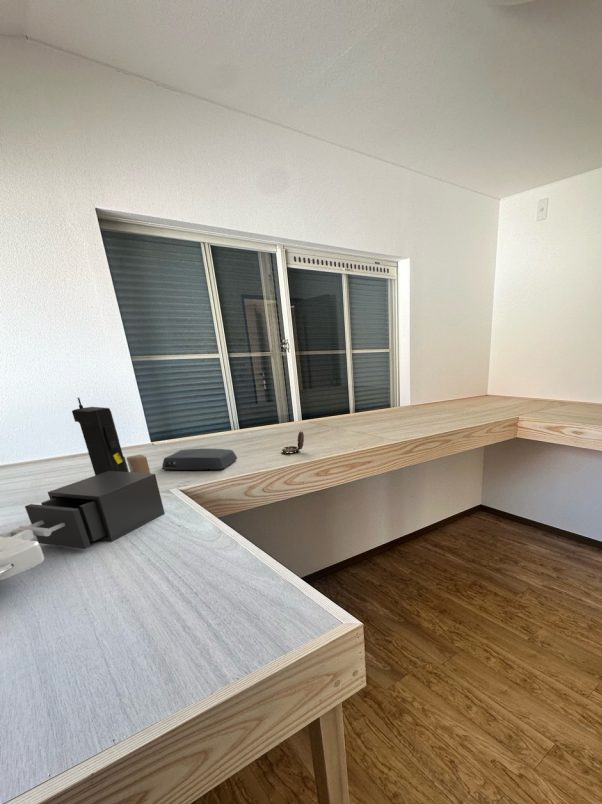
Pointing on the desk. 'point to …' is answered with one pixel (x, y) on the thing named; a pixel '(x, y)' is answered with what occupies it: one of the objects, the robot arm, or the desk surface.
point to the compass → (294, 448)
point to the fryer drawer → (66, 522)
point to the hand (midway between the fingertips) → (27, 532)
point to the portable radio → (100, 439)
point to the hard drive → (199, 459)
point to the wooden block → (138, 464)
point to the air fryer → (119, 499)
